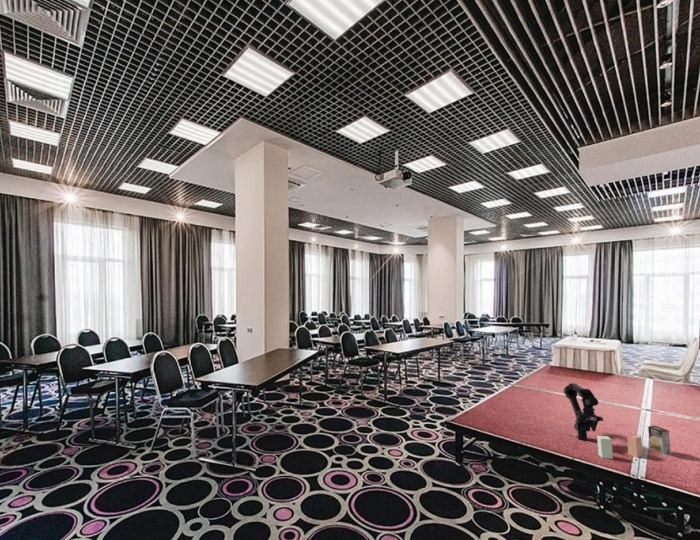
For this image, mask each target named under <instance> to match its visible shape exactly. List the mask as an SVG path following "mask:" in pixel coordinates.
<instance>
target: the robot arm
mask: <svg viewBox="0 0 700 540" xmlns="http://www.w3.org/2000/svg"><path fill="white" fill-rule="evenodd" d="M563 394H564V395H565V397H566V398H567V399H568V400H569V402H570V404H571V406H572V410H573V412H574V414H575V415H574V416H575V423H574V424H573V429H575V430H576V432H577V435H576V438H577V439H578V440H581V441H590V440H589V438H588V432H590V431H591V430H592V432H596V430H597V426H598V424H599V422H604V417H602V416H597V414H596V413H595V411H596V409H595V408H594V407H596V406H598V405H599V400H598V399H597V398H596V397H595V395H594V393H593V392H592V390H591V389H589V388H584V387H582V386H580V385H578V383H575V382H574V383H569V384H568V385H566V386H564V388H563ZM578 396H579V397H580V398H581V402H582V405H583V408H582V409H581V407H580V403H579V401H578V398H577V397H578Z"/></svg>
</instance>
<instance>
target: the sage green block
mask: <svg viewBox="0 0 700 540" xmlns="http://www.w3.org/2000/svg"><path fill="white" fill-rule="evenodd" d="M596 438H597V440H596V441H597V451H598V453H597V454H598V456H600V458H601V459H609V460H613V459H614V457H613V456H614V455H613V444H612V443H613V442H612V439H611V438H610V437H609V436H608V435H596Z"/></svg>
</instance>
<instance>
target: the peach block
mask: <svg viewBox="0 0 700 540" xmlns="http://www.w3.org/2000/svg"><path fill="white" fill-rule="evenodd" d="M626 438H627V439H626V441H627V442H626V443H627V453H628V455H629V456H632V457H634V458H640V457H643V446H642V436H640V435H636V434H633V433H630V434H627V435H626Z"/></svg>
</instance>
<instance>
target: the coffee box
mask: <svg viewBox="0 0 700 540" xmlns="http://www.w3.org/2000/svg"><path fill="white" fill-rule="evenodd" d="M647 429H648V430H647V431H648V441H649V444H648V445H649V449H650V450H652V451H655V452H657V453H659V454H662V455H668V456H672V453H671V441H670V438H671V437H670V430H669V429H665V428H663V427H660V426H658V425H650V426H647Z"/></svg>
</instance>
